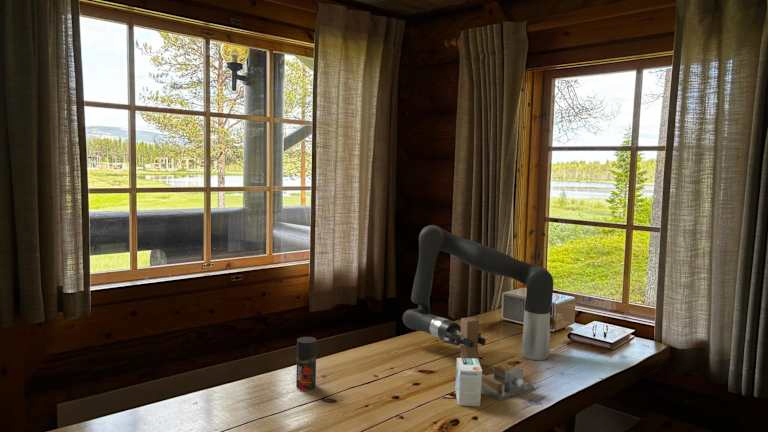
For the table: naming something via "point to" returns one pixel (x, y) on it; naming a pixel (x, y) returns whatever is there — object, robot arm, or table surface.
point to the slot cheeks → (493, 383)
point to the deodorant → (306, 363)
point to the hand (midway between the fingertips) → (478, 343)
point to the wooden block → (470, 332)
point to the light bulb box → (468, 381)
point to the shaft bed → (509, 384)
